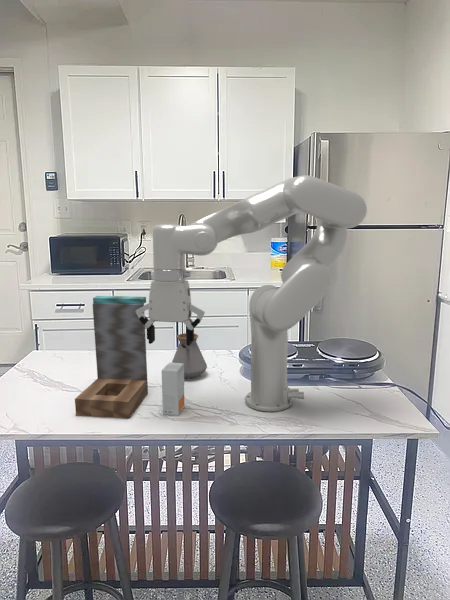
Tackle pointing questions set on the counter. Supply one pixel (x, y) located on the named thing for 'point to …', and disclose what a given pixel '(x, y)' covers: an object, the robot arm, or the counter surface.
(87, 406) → the socket station
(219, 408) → the counter surface
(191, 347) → the coffee pot
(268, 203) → the robot arm
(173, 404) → the skincare box
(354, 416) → the counter surface
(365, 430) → the counter surface
